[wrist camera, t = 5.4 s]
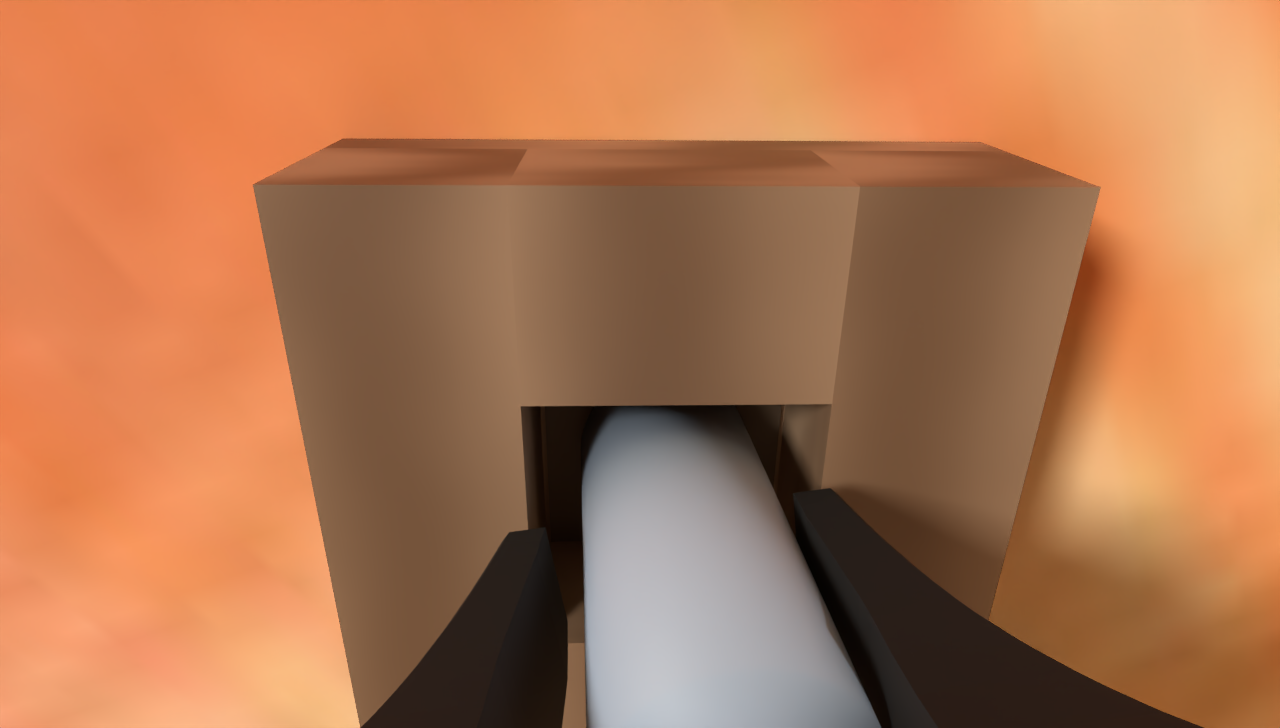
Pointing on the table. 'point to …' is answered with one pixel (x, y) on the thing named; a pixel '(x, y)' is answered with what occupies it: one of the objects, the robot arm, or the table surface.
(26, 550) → the table surface
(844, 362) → the walnut block
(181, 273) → the table surface
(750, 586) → the dowel
